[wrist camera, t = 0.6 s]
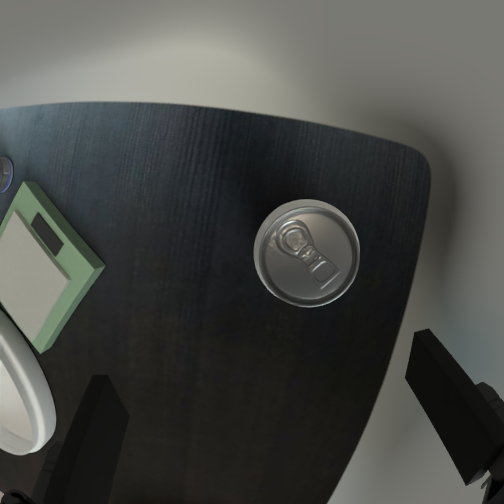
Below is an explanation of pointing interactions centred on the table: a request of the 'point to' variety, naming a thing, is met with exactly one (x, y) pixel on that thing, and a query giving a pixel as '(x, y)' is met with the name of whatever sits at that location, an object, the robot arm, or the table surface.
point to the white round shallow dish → (22, 395)
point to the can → (307, 253)
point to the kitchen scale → (42, 266)
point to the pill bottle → (5, 173)
